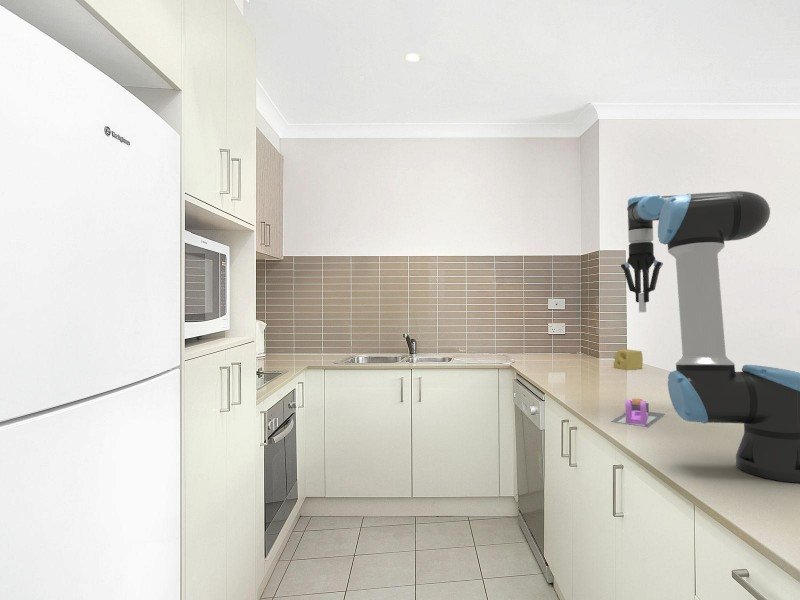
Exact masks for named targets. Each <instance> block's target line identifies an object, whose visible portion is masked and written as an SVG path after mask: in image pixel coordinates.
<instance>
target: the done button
mask: <svg viewBox="0 0 800 600" xmlns="http://www.w3.org/2000/svg"><path fill="white" fill-rule="evenodd" d="M631 401H632V404H635V405H640V403H641V401H644V400H643V399H642V398H631Z"/></svg>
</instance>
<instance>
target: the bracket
mask: <svg viewBox="0 0 800 600" xmlns="http://www.w3.org/2000/svg"><path fill="white" fill-rule="evenodd" d="M631 401H632V399H625V403H624V404H625V405H624V406H625V407H624V408H625V413H626V423H630V424H640V425H646V423H647V420H648V413H647V411H646V403H647V401H646V400H643V401H641V403H640V411H632V403H631Z"/></svg>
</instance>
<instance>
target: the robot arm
mask: <svg viewBox="0 0 800 600" xmlns="http://www.w3.org/2000/svg"><path fill="white" fill-rule="evenodd" d="M626 210H627V224H628V225H627V228H628V232H627V234H628V243H629V245H628V258H627V261H626V262H625V263H623V264H621V265H620V267H621V269H622V270H623V272H624V275H625V276H624V277H625V279H626V283H627V286H628V289H629V291H630V292H633V293H634V294H635V303H638V312H639V313H647V303H649V302H650V292H653V291H655V290H656V287H657V283H658V277H659V274H660V269H662V267H663V265H664V262H662V261H659V260H658V259H656V257H655V255H654V243H653V241H654V226H653V225H654V223H653V222H654V221H658V224H657V238H658V242H659V243H660V244H662V245H667V253H668V254H669V255H671V256H672V257H674V258H675V266H676V280H677V281H676V284H677V294H678V296H677V297H678V309H679V311H678V312H679V320H680V321H679V323H680V336H681V337H680V338H681V351H682V356H681V358H680V359H678V361H677V362H676V363H675V370H673V371H670V372H669V373H668V376H667V380H668V381H667V389H668V390H667V391H668V394H669V398H670V401H671V404H672V406H673V407H672V408H673V409H674V410H675V412H676V414H677V416H679V418H681V419H682V420H683V421H686V422H693V423H701V424H709V423H711V424H713V423H714V424H743V430H744V433H743V436H742V438H741V441H740V443H739V446H738V449H737V451H736V454H735V464H736V467H737V468H738V469H739V470H741V471H743V472H745V473H748V474H749V475H754V476H757V477H760V478H764V479H767V480H768V479H769V480H773V481H780V482H789V483H799V484H800V372H798V371H794V370H790V369H783V368H778V367H772V366H766V365H765V366H763V365H756V364H744V365H743V366H742V368H741V371H736V367H735V365H736V364H735V362H733V361H732V360H731V359H730V358H728V356H727V354H726V344H725V342H726V341H725V330H724V320H723V316H724V315H723V308H722V307H723V304H722V294H721V293H722V292H721V281H720V280H721V279H720V272H719V271H720V269H719V258H718V257H719V256H718V255H719V253H720V252H721V251H722V250H723V249H724V248H725V242H729V241H740V240H743V239H747V238H750V237H752V236H753V235H756V234H757V233H758V232H760V231H761V230H762V229H763V228H765V226H766V224H767V223H768V222H769V220H770V219H769V218H770V215H771V207H770V205H769V202H767V200H766V198H764V197H763V196H761V195H759V194H757V193H754V192H751V191H745V190H744V191H742V190H741V191H739V190H734V191H723V192H721V191H720V192H702V193H701V192H699V193H686V194H680V195H675V194H674V195H662V196H661V195H660V194H653V193H652V194H648V195H637V196H633V197H630V198H629V199H628V200H627V207H626ZM652 265H653V271H652V274H651V279H650V275H649V274H650V269H651V267H652ZM630 267H631V268H632V269H633V273H634V280H633V276H632V273H631V271H630ZM641 273H642V276H641ZM641 277H642V278H641ZM641 279H642V281H641ZM641 283H642V284H641ZM641 285H642V286H641ZM642 289H643V290H642Z"/></svg>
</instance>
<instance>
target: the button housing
mask: <svg viewBox="0 0 800 600" xmlns="http://www.w3.org/2000/svg"><path fill="white" fill-rule="evenodd" d="M631 403H632V400H631ZM649 405H650V404H649V402H646V411H647V413H648V412H650V411H649V409H650V408H649ZM632 411H640V405H635V404H632Z"/></svg>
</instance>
